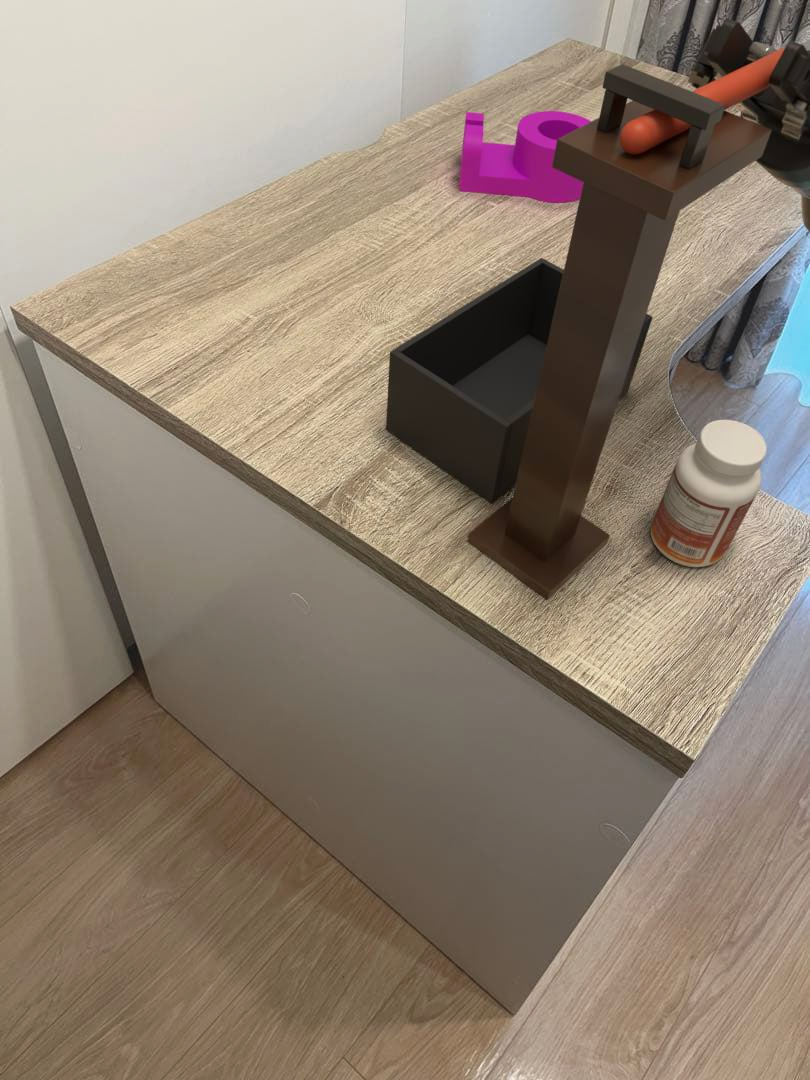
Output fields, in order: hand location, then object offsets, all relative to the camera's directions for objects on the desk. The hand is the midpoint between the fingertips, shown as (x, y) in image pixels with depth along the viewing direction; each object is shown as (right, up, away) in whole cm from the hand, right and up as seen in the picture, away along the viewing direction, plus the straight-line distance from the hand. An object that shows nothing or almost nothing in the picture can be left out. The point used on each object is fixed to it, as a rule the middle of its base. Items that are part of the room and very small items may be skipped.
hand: (753, 51), depth 47 cm
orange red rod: (-2, -3, 0) cm, 4 cm away
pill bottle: (+4, -27, +23) cm, 35 cm away
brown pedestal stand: (-7, -26, +22) cm, 35 cm away
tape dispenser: (-4, +17, +59) cm, 61 cm away
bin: (-9, -15, +31) cm, 36 cm away
